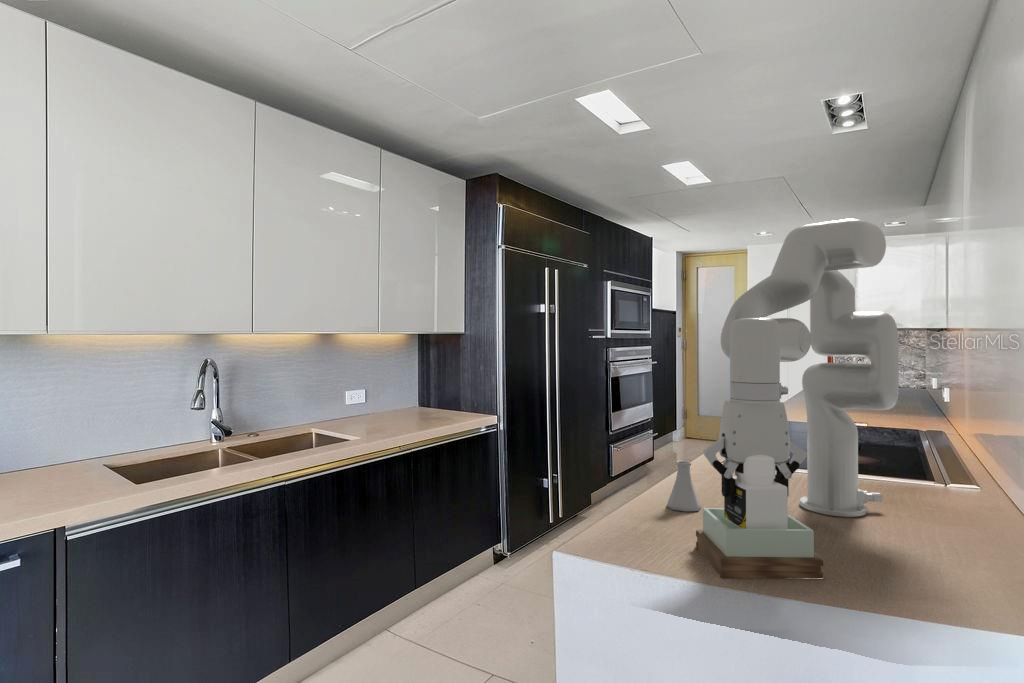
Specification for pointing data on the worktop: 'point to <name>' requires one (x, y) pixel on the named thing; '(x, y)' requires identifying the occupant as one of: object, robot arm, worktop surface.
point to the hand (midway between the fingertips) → (754, 500)
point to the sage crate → (758, 538)
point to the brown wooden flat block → (758, 563)
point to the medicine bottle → (758, 496)
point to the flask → (683, 490)
